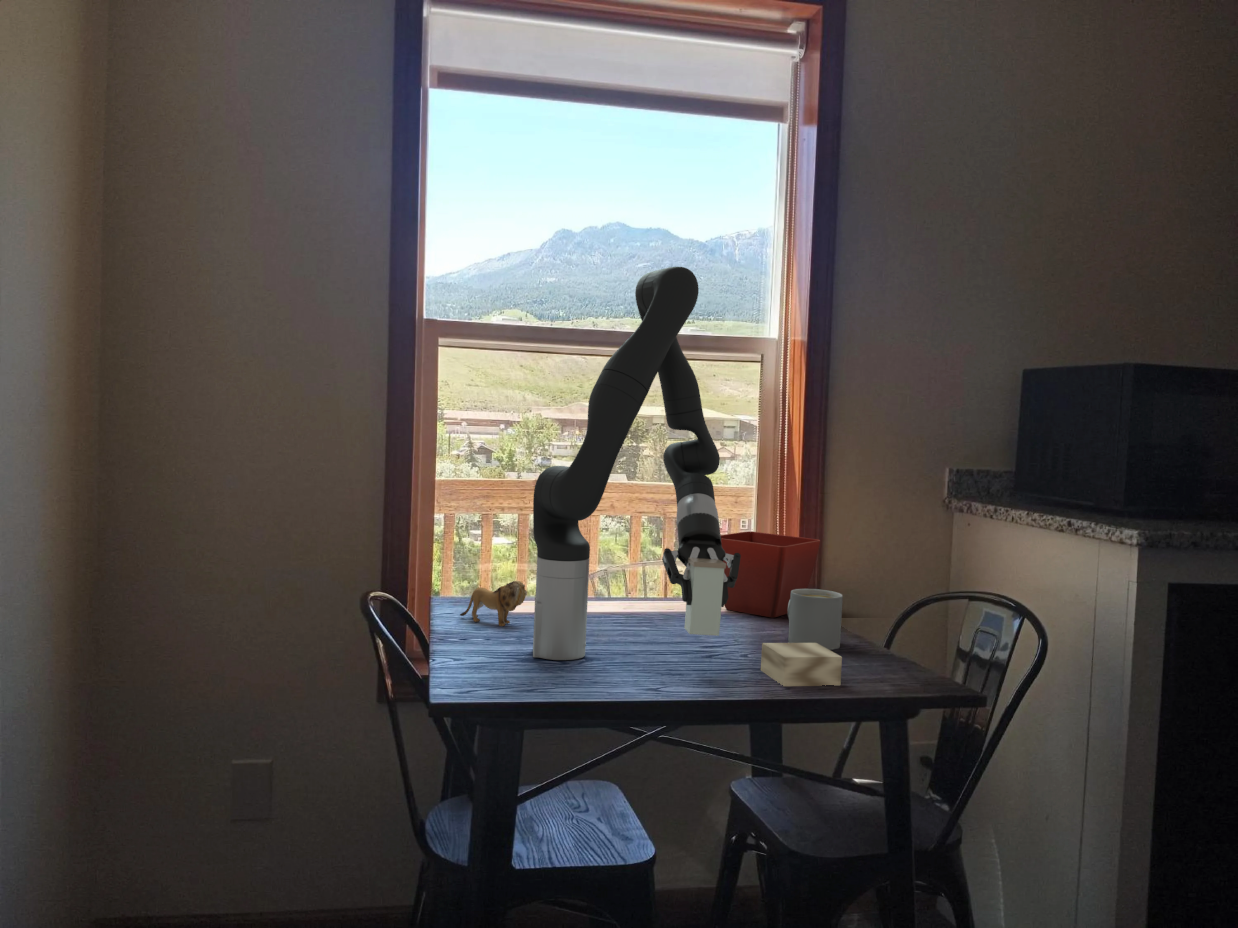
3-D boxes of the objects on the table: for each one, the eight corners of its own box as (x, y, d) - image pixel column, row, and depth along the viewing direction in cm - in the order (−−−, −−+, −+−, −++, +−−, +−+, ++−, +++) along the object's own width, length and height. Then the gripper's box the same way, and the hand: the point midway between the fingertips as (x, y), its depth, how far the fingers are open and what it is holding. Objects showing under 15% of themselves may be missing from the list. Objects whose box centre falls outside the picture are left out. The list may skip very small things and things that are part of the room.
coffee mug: (848, 649, 181) (851, 597, 181) (800, 650, 179) (803, 597, 178) (819, 634, 194) (821, 585, 194) (773, 634, 192) (776, 585, 192)
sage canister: (688, 634, 157) (694, 561, 156) (683, 627, 162) (688, 557, 162) (720, 635, 157) (726, 563, 157) (713, 629, 163) (719, 559, 162)
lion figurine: (529, 624, 191) (531, 579, 191) (518, 628, 186) (519, 583, 186) (466, 615, 197) (467, 572, 196) (452, 620, 192) (454, 576, 191)
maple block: (783, 687, 153) (784, 657, 153) (760, 671, 162) (762, 642, 162) (840, 686, 155) (842, 656, 155) (814, 670, 165) (816, 642, 164)
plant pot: (779, 623, 204) (783, 545, 203) (704, 609, 215) (707, 536, 215) (818, 611, 219) (822, 539, 218) (746, 599, 231) (749, 531, 230)
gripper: (662, 508, 166) (667, 587, 154) (741, 514, 167) (753, 592, 156) (655, 535, 171) (660, 613, 160) (732, 540, 173) (743, 618, 161)
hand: (706, 602), depth 158 cm, fingers closed on sage canister, 5 cm apart
